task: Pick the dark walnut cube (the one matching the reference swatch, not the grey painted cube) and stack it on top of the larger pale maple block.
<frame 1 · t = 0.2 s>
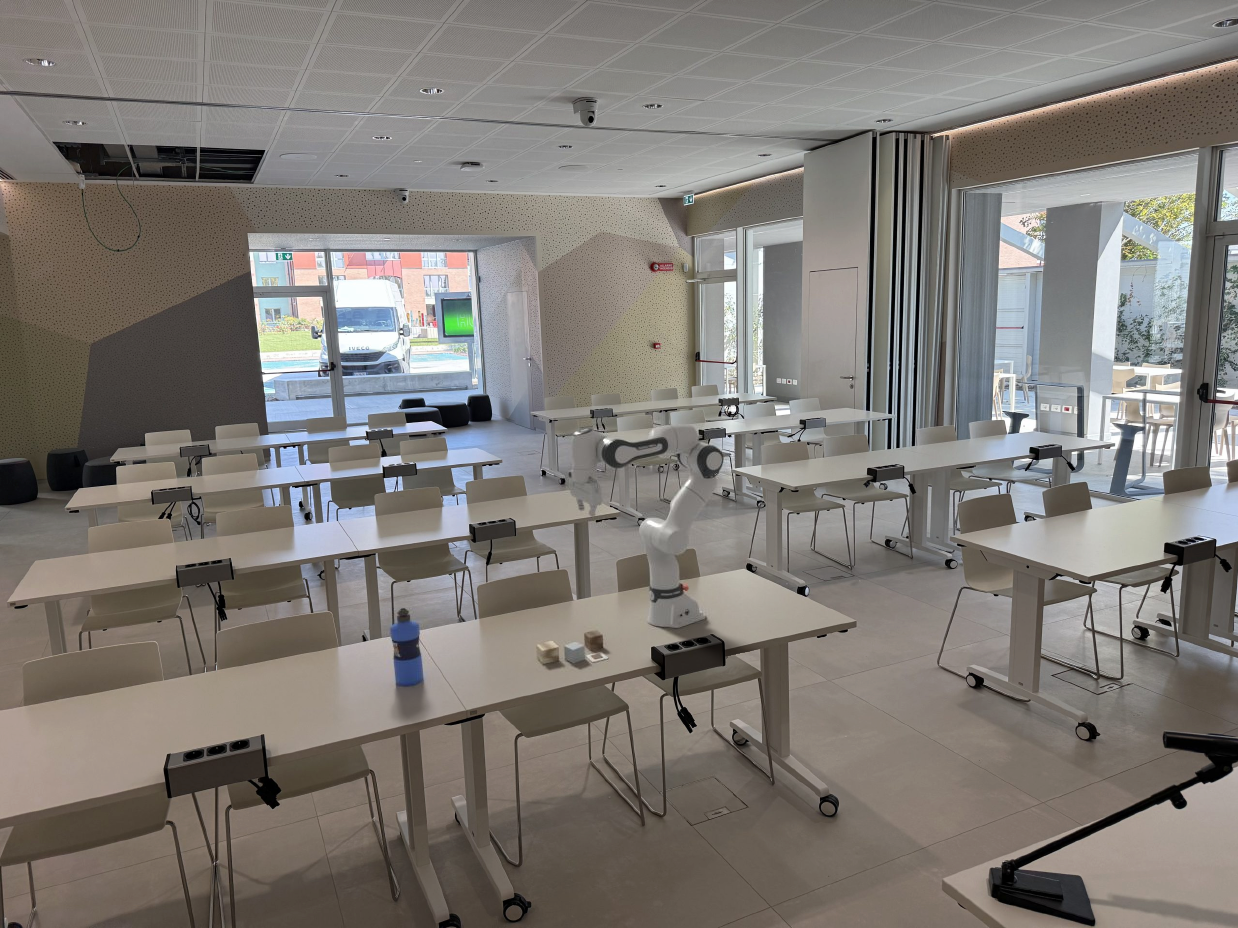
hand: (586, 512, 301), 47 cm above the table, fingers open, 8 cm apart
maple base: (548, 659, 294), on the table
grey block: (574, 659, 293), on the table
walnut block: (593, 646, 302), on the table
reference swatch: (596, 657, 293), on the table
water bottle: (409, 680, 282), on the table
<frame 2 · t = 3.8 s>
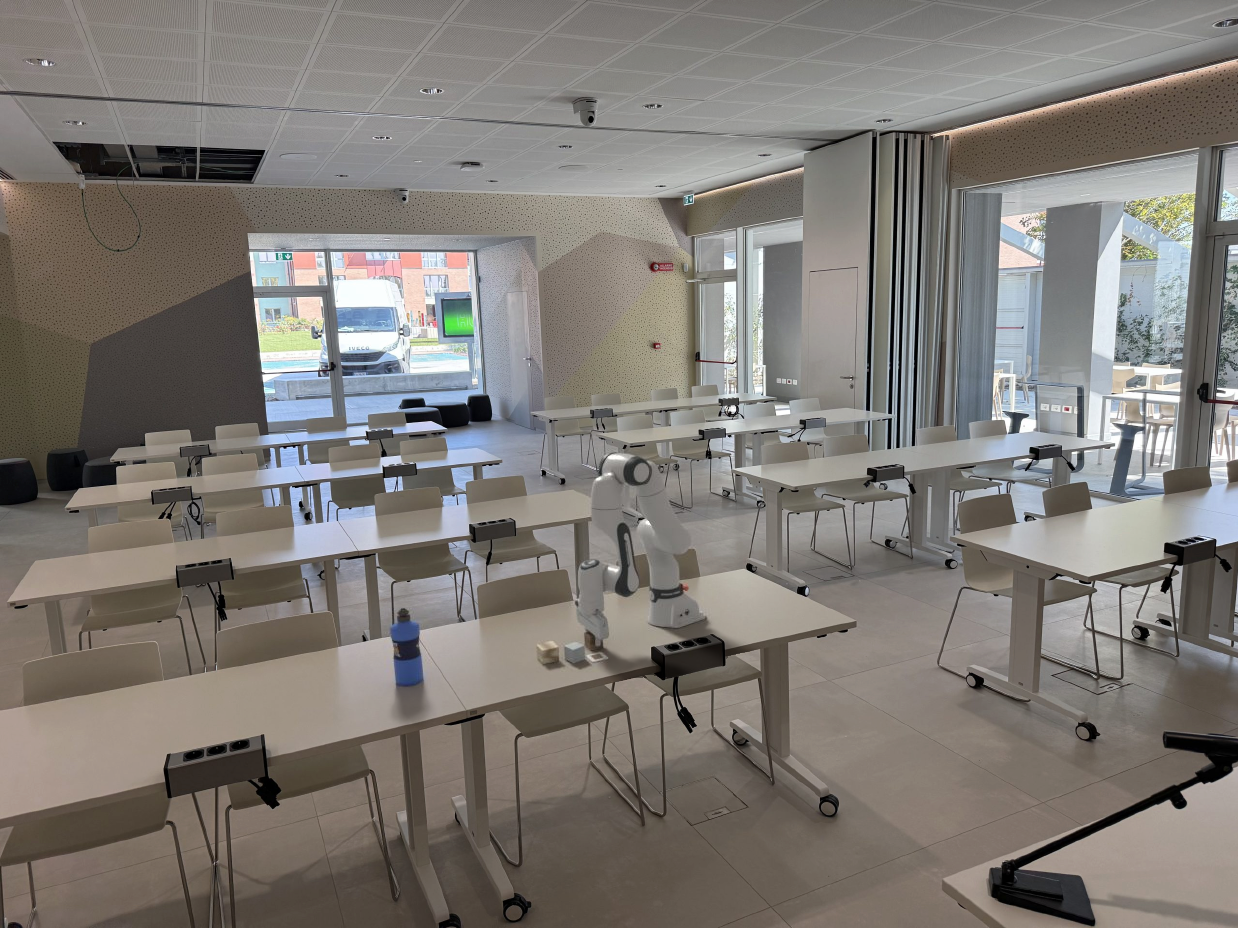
hand: (593, 642, 302), 2 cm above the table, fingers closed on walnut block, 5 cm apart
walnut block: (593, 646, 302), on the table, touching gripper
everything else where it was.
when the fingers open (8 cm above the table, at t = 8.1 s): walnut block drops 1 cm, resting on maple base.
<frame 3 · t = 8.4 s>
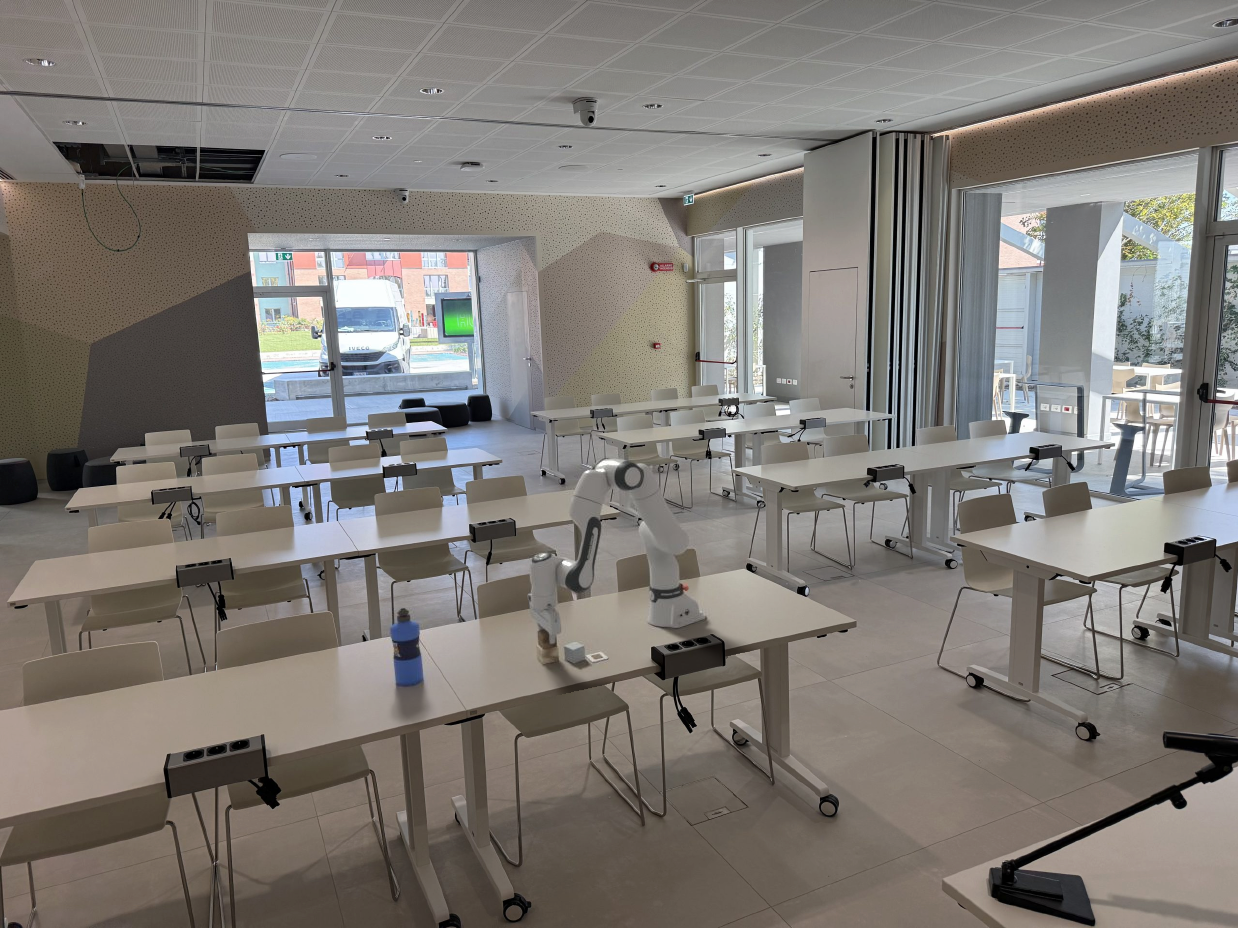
hand: (546, 638, 292), 8 cm above the table, fingers open, 8 cm apart
maple base: (548, 659, 294), on the table, touching walnut block
walnut block: (547, 645, 293), point 5 cm above the table, touching maple base
everything else where it was.
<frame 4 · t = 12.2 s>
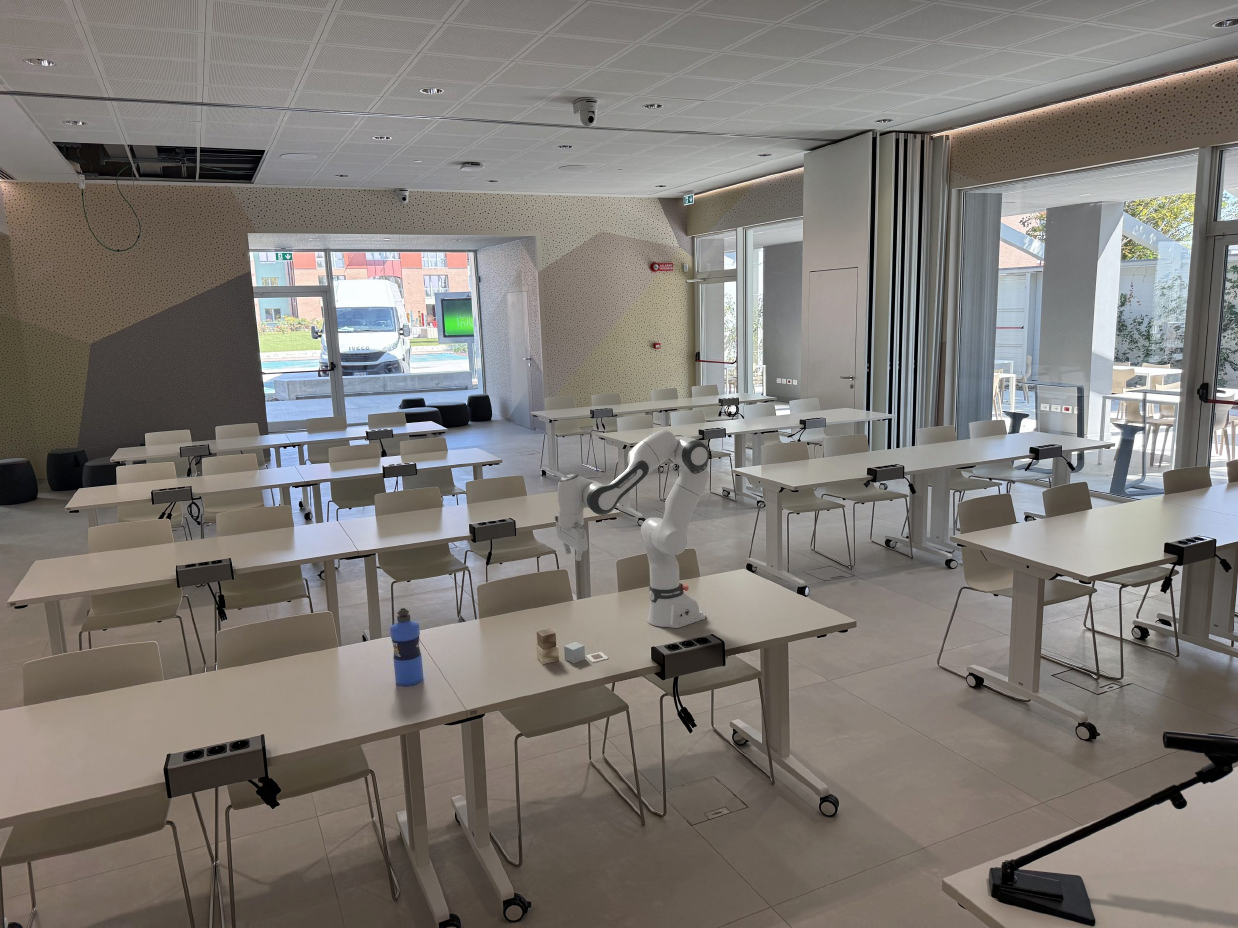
hand: (573, 556, 304), 31 cm above the table, fingers open, 8 cm apart
nothing on the table moved.
at the end: walnut block 0.1 cm off-centre on the maple base, point 5.0 cm above the maple base's base; walnut block touching maple base; the gripper is holding nothing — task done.
